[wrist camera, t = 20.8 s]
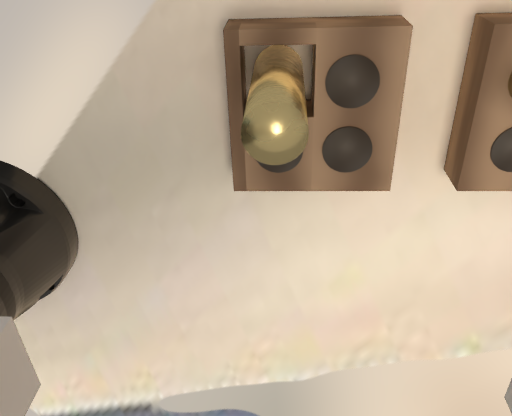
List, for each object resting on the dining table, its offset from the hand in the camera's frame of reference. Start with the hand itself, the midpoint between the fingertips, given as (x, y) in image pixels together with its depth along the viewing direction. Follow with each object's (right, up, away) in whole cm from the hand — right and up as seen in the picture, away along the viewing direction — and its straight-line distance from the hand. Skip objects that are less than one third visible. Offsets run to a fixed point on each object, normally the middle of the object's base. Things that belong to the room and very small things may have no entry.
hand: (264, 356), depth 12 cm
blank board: (+4, +12, +24) cm, 27 cm away
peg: (+1, +14, +23) cm, 27 cm away
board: (+21, +12, +23) cm, 33 cm away
